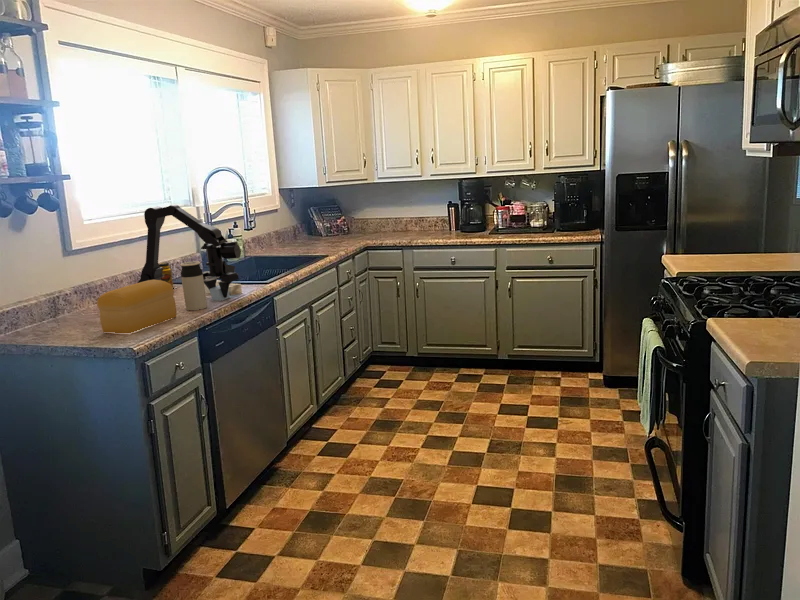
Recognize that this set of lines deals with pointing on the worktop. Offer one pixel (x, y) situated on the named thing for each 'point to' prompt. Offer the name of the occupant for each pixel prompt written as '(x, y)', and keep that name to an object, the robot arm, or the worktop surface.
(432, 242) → the worktop surface
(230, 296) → the tile
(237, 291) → the birch block
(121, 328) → the bread
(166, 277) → the condiment
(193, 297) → the travel mug
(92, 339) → the worktop surface
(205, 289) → the cream cube
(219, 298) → the blue cube
